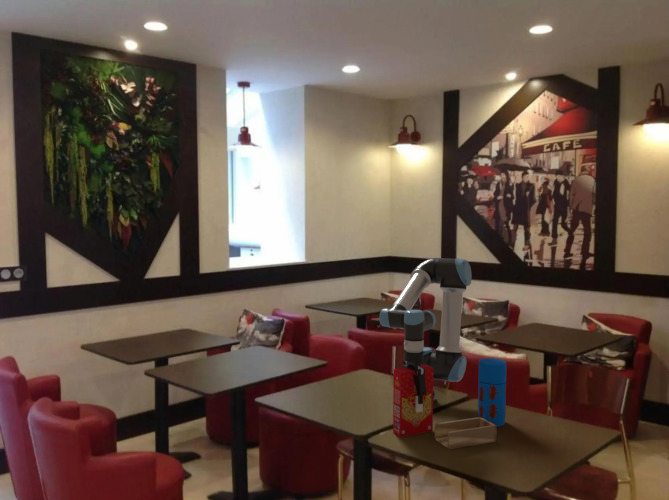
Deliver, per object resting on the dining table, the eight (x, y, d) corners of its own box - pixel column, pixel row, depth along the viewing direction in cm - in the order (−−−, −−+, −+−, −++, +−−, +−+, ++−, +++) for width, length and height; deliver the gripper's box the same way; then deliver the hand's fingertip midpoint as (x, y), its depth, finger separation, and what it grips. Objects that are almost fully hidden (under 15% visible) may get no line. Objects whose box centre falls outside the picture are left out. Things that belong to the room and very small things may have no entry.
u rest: (434, 439, 229) (434, 423, 228) (480, 432, 236) (480, 416, 236) (449, 449, 219) (449, 433, 219) (496, 441, 226) (496, 425, 226)
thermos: (506, 427, 241) (507, 365, 239) (478, 425, 243) (479, 364, 241) (504, 418, 252) (505, 358, 250) (477, 416, 254) (478, 357, 252)
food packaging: (400, 437, 231) (400, 372, 229) (393, 432, 236) (393, 368, 234) (432, 431, 237) (433, 367, 236) (425, 426, 242) (425, 364, 240)
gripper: (392, 345, 243) (392, 400, 244) (418, 357, 223) (418, 418, 225) (409, 343, 246) (408, 398, 247) (436, 355, 226) (435, 415, 227)
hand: (413, 407), depth 236 cm, fingers open, 9 cm apart
